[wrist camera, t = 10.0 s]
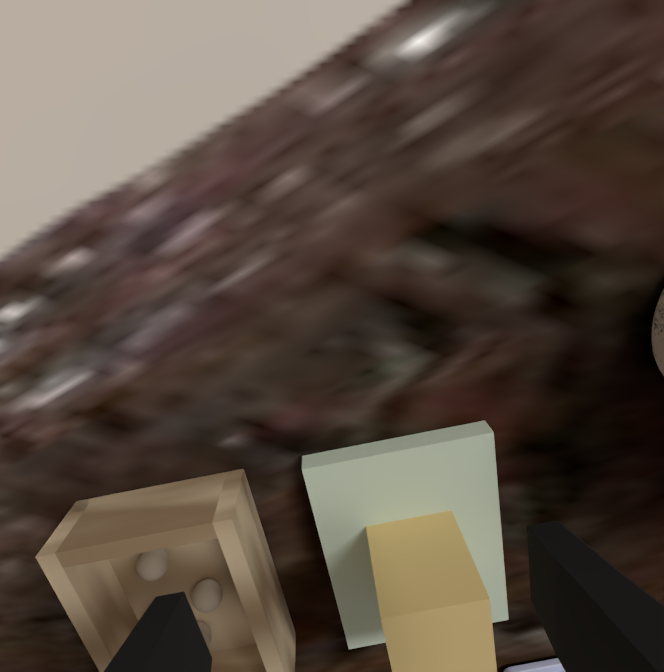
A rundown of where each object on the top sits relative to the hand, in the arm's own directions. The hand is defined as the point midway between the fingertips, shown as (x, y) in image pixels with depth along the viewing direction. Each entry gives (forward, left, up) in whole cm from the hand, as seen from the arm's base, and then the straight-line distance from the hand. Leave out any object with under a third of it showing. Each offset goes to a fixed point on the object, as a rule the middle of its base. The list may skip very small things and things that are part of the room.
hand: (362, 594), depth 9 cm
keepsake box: (-9, +9, -10) cm, 16 cm away
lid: (-9, -2, -10) cm, 14 cm away
